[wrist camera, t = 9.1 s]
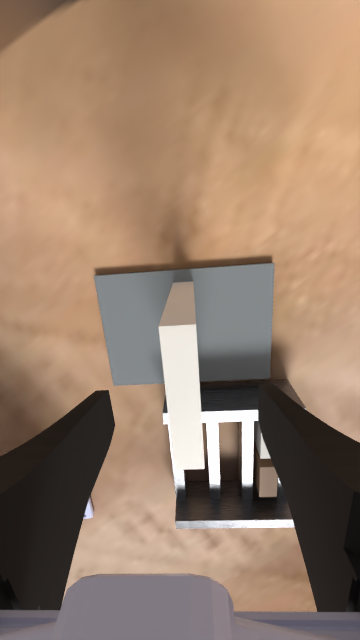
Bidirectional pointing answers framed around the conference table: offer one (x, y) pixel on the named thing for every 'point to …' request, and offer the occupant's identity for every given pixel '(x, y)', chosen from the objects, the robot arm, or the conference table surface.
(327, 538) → the robot arm
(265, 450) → the offcut grey
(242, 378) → the mat
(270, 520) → the rack
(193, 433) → the sheet
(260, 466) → the offcut walnut
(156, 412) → the conference table surface
